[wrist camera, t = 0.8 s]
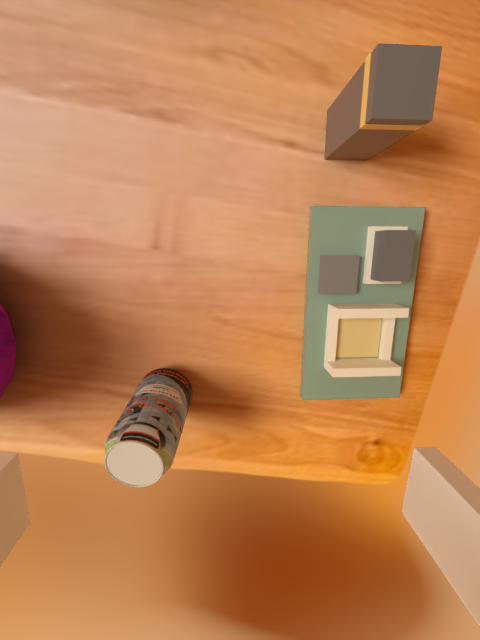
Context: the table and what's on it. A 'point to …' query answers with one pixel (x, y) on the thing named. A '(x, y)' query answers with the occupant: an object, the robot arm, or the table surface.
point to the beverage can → (149, 429)
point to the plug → (383, 101)
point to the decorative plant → (6, 350)
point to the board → (358, 300)
